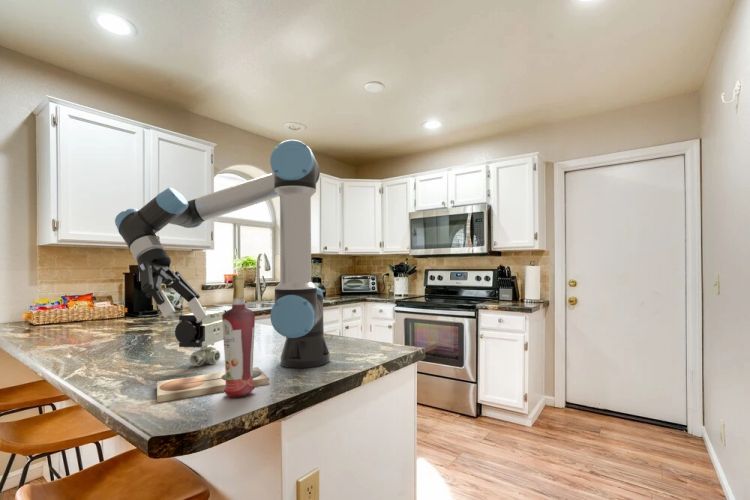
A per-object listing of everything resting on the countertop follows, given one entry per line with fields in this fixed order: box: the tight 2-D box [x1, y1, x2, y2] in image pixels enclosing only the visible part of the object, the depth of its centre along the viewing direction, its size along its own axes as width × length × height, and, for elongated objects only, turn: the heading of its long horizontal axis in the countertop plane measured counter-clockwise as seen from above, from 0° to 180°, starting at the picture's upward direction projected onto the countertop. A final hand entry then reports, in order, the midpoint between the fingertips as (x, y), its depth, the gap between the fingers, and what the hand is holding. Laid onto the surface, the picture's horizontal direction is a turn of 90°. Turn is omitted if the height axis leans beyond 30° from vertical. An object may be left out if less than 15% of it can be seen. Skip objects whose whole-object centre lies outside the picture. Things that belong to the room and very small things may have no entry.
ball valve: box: [174, 306, 227, 367], centre depth 123 cm, size 18×8×18 cm, turn 168°
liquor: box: [222, 274, 256, 399], centre depth 91 cm, size 7×7×28 cm
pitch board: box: [156, 366, 270, 403], centre depth 99 cm, size 25×13×4 cm, turn 119°
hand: (187, 316), depth 100 cm, fingers open, 13 cm apart
